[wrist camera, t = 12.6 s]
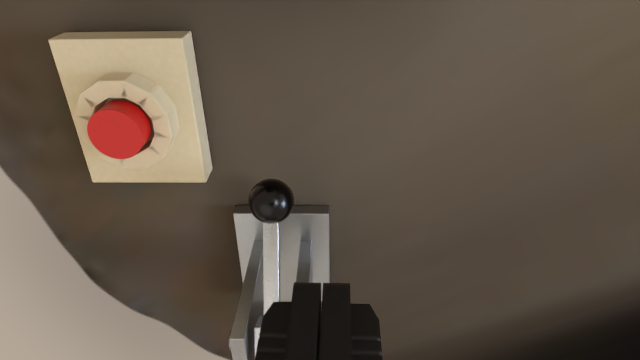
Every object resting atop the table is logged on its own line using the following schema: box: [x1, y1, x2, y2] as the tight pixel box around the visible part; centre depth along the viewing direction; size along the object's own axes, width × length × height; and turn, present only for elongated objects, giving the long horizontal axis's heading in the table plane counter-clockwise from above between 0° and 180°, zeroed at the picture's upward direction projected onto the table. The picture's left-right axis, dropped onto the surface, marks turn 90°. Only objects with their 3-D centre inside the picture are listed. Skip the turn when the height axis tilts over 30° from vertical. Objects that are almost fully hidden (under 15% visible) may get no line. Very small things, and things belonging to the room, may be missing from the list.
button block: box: [48, 31, 212, 182], centre depth 33 cm, size 11×9×4 cm
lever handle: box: [248, 179, 294, 360], centre depth 32 cm, size 13×3×3 cm, turn 1°
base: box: [229, 205, 330, 360], centre depth 36 cm, size 10×8×12 cm
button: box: [87, 100, 151, 159], centre depth 30 cm, size 4×4×2 cm
